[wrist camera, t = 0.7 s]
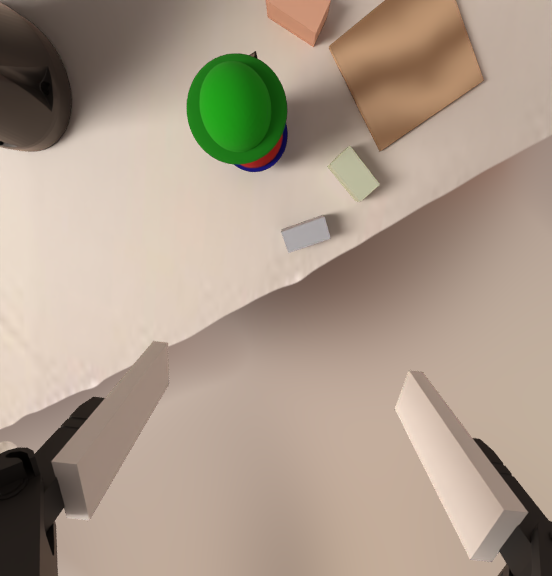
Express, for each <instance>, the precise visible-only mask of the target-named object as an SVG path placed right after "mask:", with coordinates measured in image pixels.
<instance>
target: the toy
mask: <svg viewBox="0 0 552 576" xmlns="http://www.w3.org/2000/svg"><path fill="white" fill-rule="evenodd" d="M187 118H188V123H189V126H190V129H191V132H192V134H193V136H194V138H195V140H196V141H197V142H198V144H199V145H200V146H201V148H202V149H203V150H204V151H205V152H207V153H208V154H209V155H210V156H212V157H213V158H215V159H217V160H219V161H222V162H225V163H228V164H234V165H235V166H237V167H238V168H240V169H242V170H245V171H249V172H259V171H263V170H266V169H268V168H270V167H272V166H273V165H274V164H275V163H276V162H277V161H278V160H279V159H280V158H281V156H282V154H283V152H284V150H285V147H286V144H287V136H288V133H287V125H286V119H287V101H286V96H285V92H284V89H283V87H282V84H281V82H280V81H279V79H278V77H277V76H276V74H275V73H274V72H273V71H272V69H271V68H270V67H269V66H267V65H266V64H265V63H264V62H262V61H261V60H259V59H257V54H256V51H255V52H254V53H252V54H251V55H245V54H226V55H223V56H220V57H217V58H215V59H213V60H212V61H210V62H208V63H207V64H206V65H205V66H204V67H203V68H202V69H201V70H200V71H199V72H198V74H197V75H196V76H195V78H194V80H193V82H192V84H191V87H190V90H189V92H188V98H187Z"/></svg>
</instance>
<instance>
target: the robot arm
mask: <svg viewBox="0 0 552 576" xmlns="http://www.w3.org/2000/svg"><path fill="white" fill-rule="evenodd" d="M70 113H71V91H70V85H69V81H68V77H67V74H66V71H65V68H64V66H63V64H62V61H61V59H60V57H59V55H58V54H57V52H56V50H55V49H54V47H53V46H52V44H51V43H50V41H49V40H48V39H47V38H46V36H45V35H44V34H43V33H42V32H41V31H40V30H39V29H38V28H37V27H36V26H35V25H34V24H32V23H31V22H30V21H29V20H27V19H26V18H24V17H23V16H21V15H20V14H18V13H17V12H15V11H14V10H12V9H11V8H9V7H8V6H6V5H4V4H2V3H0V147H3V148H7V149H13V150H19V151H28V152H32V151H39V150H43V149H46V148H48V147H50V146H51V145H53V144H54V143H55V142H56V141H58V139H59V138H60V137H61V136H62V135H63V133H64V131H65V129H66V127H67V125H68V122H69V118H70ZM168 385H169V364H168V343H165V342H156V341H153V342H152V343H151V345H150V346H149V347H148V348H147V349H146V351H145V352H144V353H143V354H142V355H141V356H140V358H139V359H138V360H137V361H136V362H135V363H134V365H133V366H132V367H131V368H130V369H129V371H128V372H127V373H126V374H125V375H124V376H123V378H122V379H121V380H120V381H119V383H118V384H117V385H116V386H115V387H114V388H113V389H112V391H111V392H110V393H109V394H108V395H107V396H106V398H99V397H92V398H91V399H89V400H88V401H86V402H85V403H83V404H82V405H80V406H79V407H78V408H77V409H76V410H75V412H73V413H72V415H71V416H70V417H69V419H67V420H66V421H65V422H64V423H63V424H62V425H61V428H59V429H58V430H57V431H56V432H55V433H54V434H53V435H52V436H51V437H50V438H49V439H48V440H47V441H46V442H45V444H44V445H43V446H42V447H41V448H40V449H39V450H38V451H37V452H36V453H35V454H34V452H33V450H31V449H29V448H15V449H11V450H7V451H5V452H3V453H1V454H0V576H58V569H57V540H56V524H55V520H56V518H57V516H58V515H59V514H60V512H61V511H62V509H63V508H64V509H65V513H66V517H67V518H74V519H82V520H90V519H91V517H92V515H93V513H94V512H95V510H96V508H97V507H98V505H99V503H100V501H101V500H102V498H103V496H104V495H105V493H106V491H107V489H108V488H109V486H110V484H111V482H112V481H113V479H114V477H115V476H116V474H117V472H118V471H119V469H120V467H121V466H122V464H123V462H124V460H125V459H126V457H127V455H128V453H129V452H130V450H131V448H132V447H133V445H134V443H135V441H136V440H137V438H138V436H139V435H140V433H141V431H142V429H143V428H144V426H145V424H146V423H147V421H148V419H149V418H150V416H151V414H152V412H153V411H154V409H155V407H156V406H157V404H158V402H159V400H160V399H161V397H162V395H163V393H164V392H165V390H166V388H167V387H168ZM395 410H396V412H397V414H398V416H399V418H400V420H401V422H402V424H403V426H404V428H405V430H406V432H407V434H408V436H409V438H410V440H411V442H412V444H413V446H414V448H415V450H416V452H417V454H418V456H419V458H420V460H421V462H422V464H423V466H424V468H425V470H426V472H427V474H428V476H429V478H430V480H431V482H432V484H433V486H434V488H435V490H436V492H437V494H438V496H439V498H440V500H441V502H442V504H443V506H444V508H445V510H446V512H447V514H448V516H449V518H450V520H451V522H452V524H453V526H454V528H455V530H456V532H457V534H458V536H459V538H460V540H461V542H462V544H463V546H464V548H465V550H466V552H467V554H468V556H469V558H470V560H477V561H487V562H492V561H493V560H494V558H495V557H496V556H497V554H498V553H499V552H500V553H501V555H502V556H503V558H504V560H505V561H506V563H507V564H506V566H505V567H504V568H503V569H502V571H501V572H500V573H499V575H498V576H552V522H551V521H549V520H548V519H547V518H546V517H545V515H544V514H543V513H542V511H541V510H540V509H539V508H538V506H537V505H536V504H535V503H534V501H533V500H532V499H531V498H530V496H529V495H528V494H527V493H526V492H525V490H524V489H523V488H522V486H521V485H520V484H519V483H518V481H517V480H516V479H515V478H514V477H512V475H511V473H510V471H509V470H508V469H507V468H506V466H504V465H503V462H502V461H501V460H500V459H499V457H498V456H497V455H496V454H495V452H494V451H493V450H492V449H491V448H489V447H488V446H487V445H486V444H485V443H484V442H483V441H481V440H480V439H476V438H472V437H471V436H470V434H469V433H468V432H467V430H466V429H465V428H464V426H463V425H462V424H461V422H460V421H459V420H458V418H457V417H456V416H455V414H454V413H453V412H452V410H451V409H450V408H449V406H448V405H447V404H446V402H445V401H444V400H443V398H442V397H441V396H440V395H439V393H438V392H437V390H436V389H435V388H434V386H433V385H432V384H431V383H430V381H429V380H428V378H427V377H426V376H425V374H424V373H423V372H419V371H408V374H407V377H406V380H405V382H404V385H403V388H402V391H401V393H400V396H399V399H398V402H397V404H396V407H395Z"/></svg>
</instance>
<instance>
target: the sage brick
mask: <svg viewBox="0 0 552 576" xmlns="http://www.w3.org/2000/svg"><path fill="white" fill-rule="evenodd" d="M327 167H328V168H329V169H330V171H331V172H332V173H333V174H334V176H335V177H336V178H337V179H338V181H339V182H340V183H341V184H342V185H343V187H344V188H345V189H346V190H347V192H348V193H349V194H350V195H351V197H352V198H353V199H354V200H355V201H357V202H361V201H362V200H363V199H364V198H365V197H367V196H368V195H369V194H370V193H371V192H372V191H373V190H374V189H376V188H377V187H378V186H379V185H380V184H379V183H378V181H377V180H376V179H375V177H374V176H373V175H372V174H371V172H370V171H369V170H368V168H367V167H366V166H365V164H364V163H363V162H362V161H361V159H360V158H359V157H358V155H357V154H356V153H355V152H354V150H353V149H352V148H351V146H349V147H347V148H346V149H345V150H344V151H343V152H342V153H341V154H340V155H339V156H338V157H337V158H336V159H335V160H334V161H333V162H332V163H331V164H330V165H328V166H327Z"/></svg>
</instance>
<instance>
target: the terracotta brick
mask: <svg viewBox="0 0 552 576" xmlns="http://www.w3.org/2000/svg"><path fill="white" fill-rule="evenodd" d="M330 2H331V0H266V5H267V14H268V18H270V19H271V20H273V21H274V22H276V23H278V24H279V25H281V26H282V27H284V28H285V29H287V30H288V31H290V32H291V33H293V34H294V35H296V36H297V37H299V38H300V39H302V40H303V41H305V42H306V43H308V44H310V45H311V46H313V47H314V45H315V42H316V40H317V38H318V36H319V34H320V32H321V29H322V27H323V25H324V23H325V21H326V19H327V15H328V11H329V6H330Z"/></svg>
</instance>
